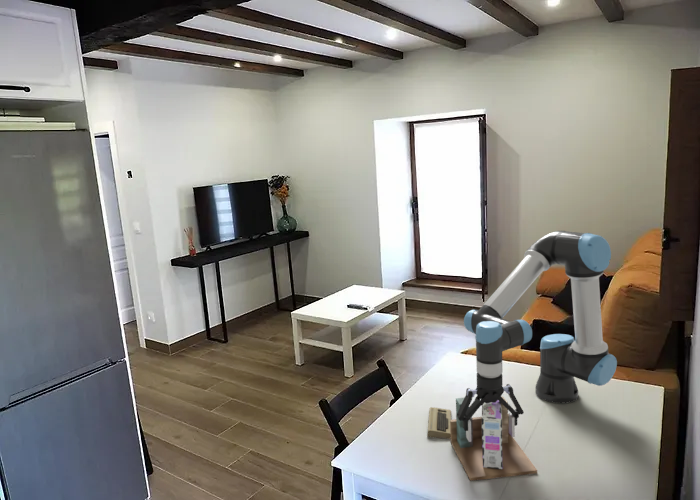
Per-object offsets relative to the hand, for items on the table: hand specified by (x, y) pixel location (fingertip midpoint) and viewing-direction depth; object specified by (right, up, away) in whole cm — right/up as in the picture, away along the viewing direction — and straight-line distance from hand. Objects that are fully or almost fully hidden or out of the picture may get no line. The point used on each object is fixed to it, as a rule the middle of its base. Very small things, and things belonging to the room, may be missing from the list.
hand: (490, 437), depth 155 cm
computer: (-12, -4, +20) cm, 24 cm away
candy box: (+1, -6, -1) cm, 6 cm away
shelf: (0, -6, 0) cm, 6 cm away
